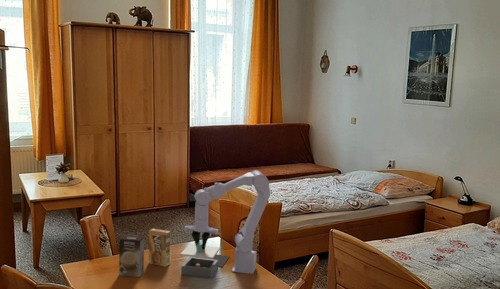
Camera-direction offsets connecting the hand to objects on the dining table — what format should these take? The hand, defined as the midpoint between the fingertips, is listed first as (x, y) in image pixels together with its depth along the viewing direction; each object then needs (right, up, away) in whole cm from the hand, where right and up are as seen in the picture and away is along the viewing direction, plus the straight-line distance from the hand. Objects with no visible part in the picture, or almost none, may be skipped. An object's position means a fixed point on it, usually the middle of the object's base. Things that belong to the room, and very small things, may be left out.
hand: (200, 248), depth 201 cm
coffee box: (-29, -10, -3) cm, 31 cm away
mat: (+2, -9, +15) cm, 17 cm away
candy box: (-19, -9, +8) cm, 23 cm away
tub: (0, -10, +1) cm, 10 cm away
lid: (0, -2, 0) cm, 2 cm away
